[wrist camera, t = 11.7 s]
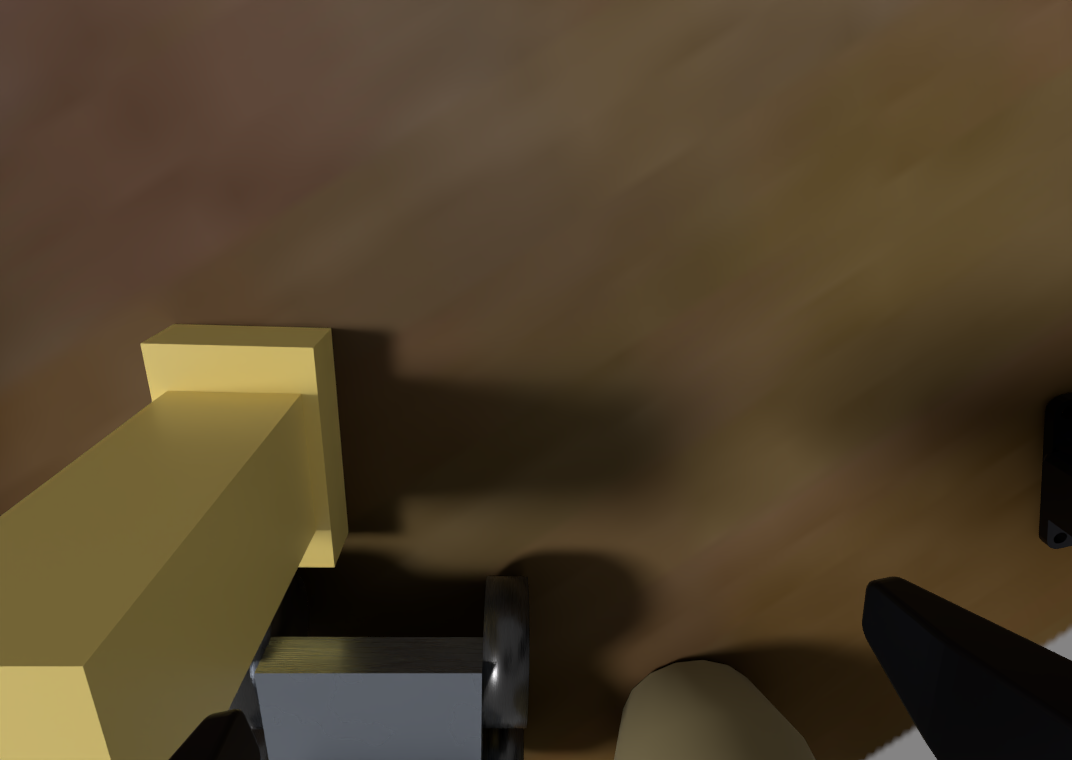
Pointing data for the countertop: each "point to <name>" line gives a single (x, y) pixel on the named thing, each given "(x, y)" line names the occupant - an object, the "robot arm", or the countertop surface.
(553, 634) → the countertop surface
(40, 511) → the yellow block on base
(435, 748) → the trolley
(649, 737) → the squeeze bottle
